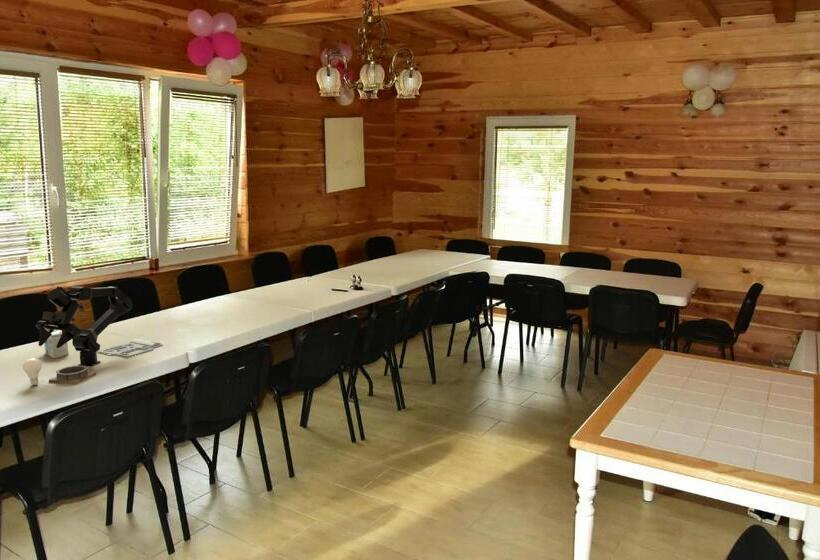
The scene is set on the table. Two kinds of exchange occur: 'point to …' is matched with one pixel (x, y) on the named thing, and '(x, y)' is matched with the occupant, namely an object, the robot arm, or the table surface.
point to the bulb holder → (72, 375)
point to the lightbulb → (32, 369)
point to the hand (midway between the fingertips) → (48, 346)
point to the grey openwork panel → (131, 348)
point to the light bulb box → (52, 343)
